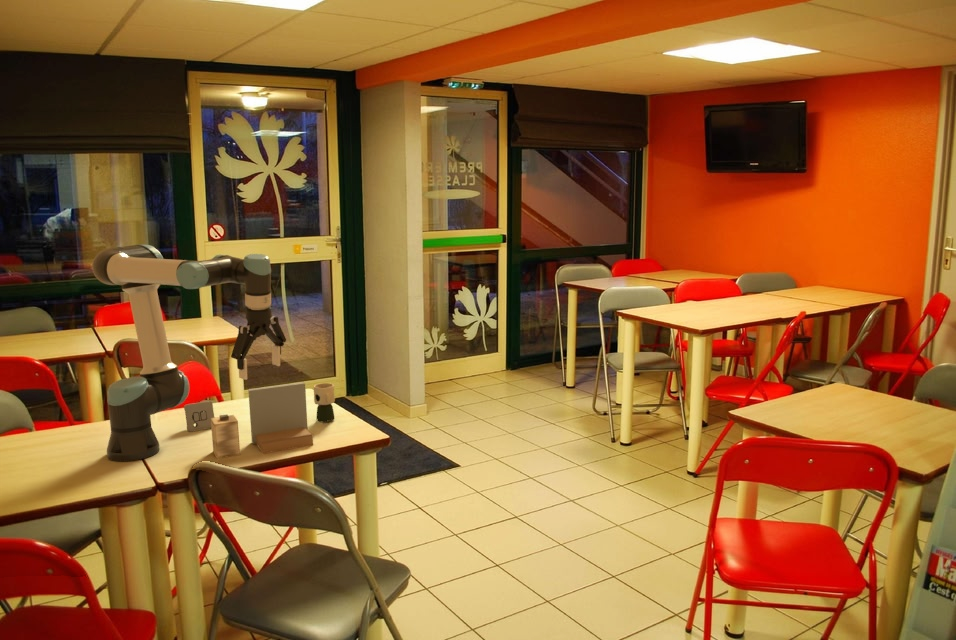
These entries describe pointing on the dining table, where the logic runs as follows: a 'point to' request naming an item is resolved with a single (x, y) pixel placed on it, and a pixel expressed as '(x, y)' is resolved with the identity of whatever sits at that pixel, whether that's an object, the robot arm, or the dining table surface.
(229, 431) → the tan canister
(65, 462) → the dining table surface
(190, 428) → the electrical switch
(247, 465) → the dining table surface
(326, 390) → the character mug
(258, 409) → the grey panel display stand
